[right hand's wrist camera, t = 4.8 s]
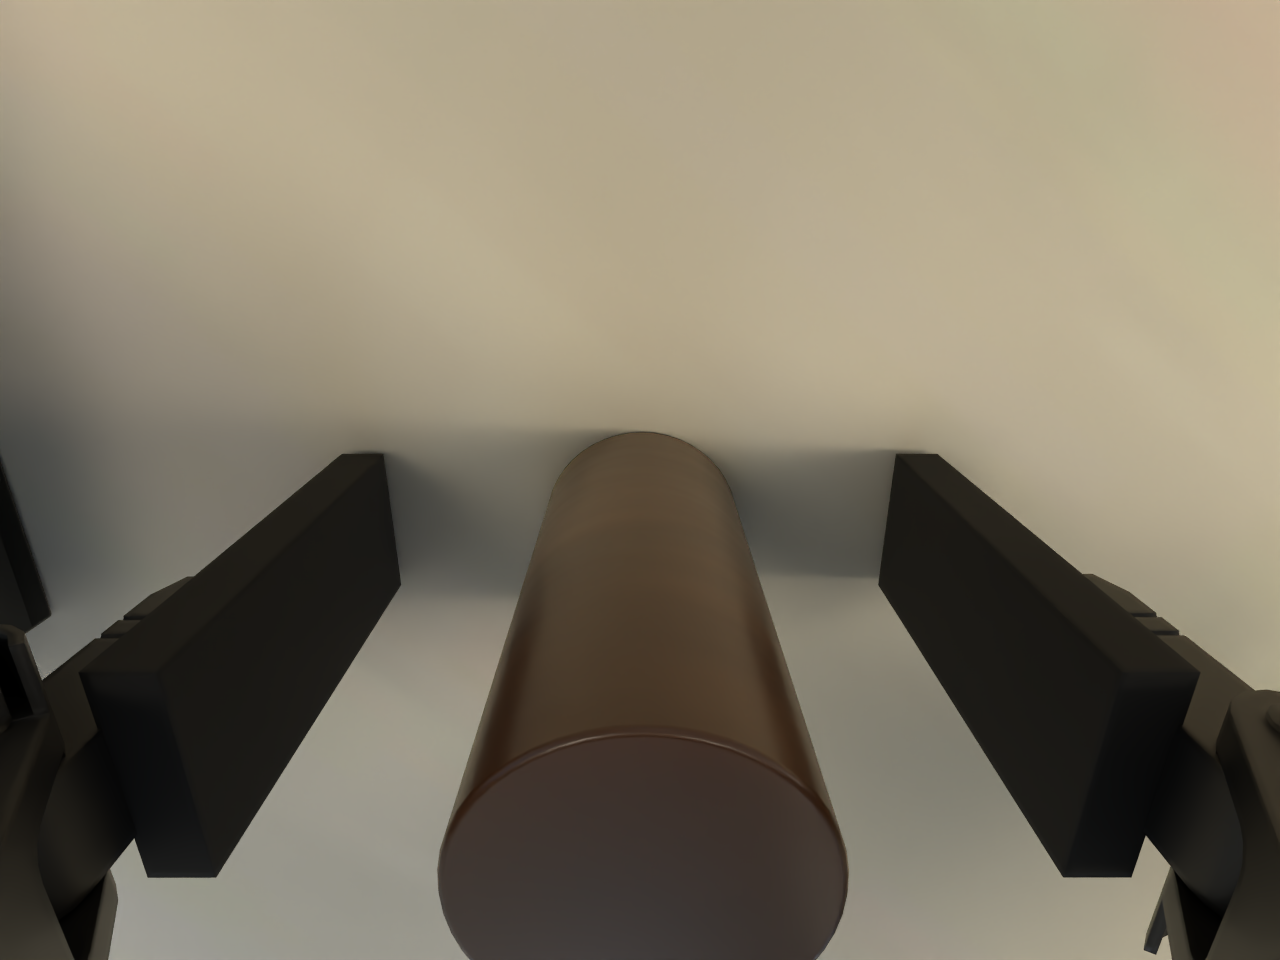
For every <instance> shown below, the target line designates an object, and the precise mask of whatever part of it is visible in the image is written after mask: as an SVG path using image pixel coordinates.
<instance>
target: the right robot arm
mask: <svg viewBox="0 0 1280 960" xmlns="http://www.w3.org/2000/svg"><path fill="white" fill-rule="evenodd" d="M878 585H879V587H880V588H881V590H882V591H883V593H884V595H885V596H886V598H887V599H888V601H889V602H890V604H891V606H892V607H893V609H894V610H895V612H896V614H897V615H898V617H899V618H900V620H901V621H902V623H903V625H904V626H905V628H906V629H907V631H908V633H909V634H910V636H911V637H912V639H913V640H914V642H915V644H916V645H917V647H918V648H919V650H920V652H921V653H922V655H923V656H924V658H925V659H926V661H927V663H928V664H929V666H930V667H931V669H932V671H933V672H934V674H935V675H936V677H937V678H938V680H939V682H940V683H941V685H942V686H943V688H944V690H945V691H946V693H947V694H948V696H949V697H950V699H951V701H952V702H953V704H954V705H955V707H956V708H957V710H958V712H959V713H960V715H961V716H962V718H963V720H964V721H965V723H966V724H967V726H968V727H969V729H970V731H971V732H972V734H973V735H974V737H975V739H976V740H977V742H978V743H979V745H980V746H981V748H982V750H983V751H984V753H985V754H986V756H987V758H988V759H989V761H990V762H991V764H992V765H993V767H994V769H995V770H996V772H997V773H998V775H999V777H1000V778H1001V780H1002V781H1003V783H1004V784H1005V786H1006V788H1007V789H1008V791H1009V792H1010V794H1011V796H1012V797H1013V799H1014V800H1015V802H1016V803H1017V805H1018V807H1019V808H1020V810H1021V811H1022V813H1023V815H1024V816H1025V818H1026V819H1027V821H1028V822H1029V824H1030V826H1031V827H1032V829H1033V830H1034V832H1035V834H1036V835H1037V837H1038V838H1039V840H1040V841H1041V843H1042V845H1043V846H1044V848H1045V849H1046V851H1047V852H1048V854H1049V856H1050V857H1051V859H1052V860H1053V862H1054V864H1055V865H1056V867H1057V868H1058V870H1059V871H1060V873H1061V875H1062V876H1063V877H1132V874H1133V871H1134V868H1135V865H1136V862H1137V859H1138V856H1139V853H1140V850H1141V848H1142V845H1143V842H1144V839H1145V836H1147V837H1148V838H1149V840H1150V841H1151V842H1152V843H1153V845H1154V846H1155V847H1156V848H1157V849H1158V851H1159V852H1160V853H1161V854H1162V856H1163V857H1164V858H1165V859H1166V861H1167V862H1168V863H1169V864H1170V866H1171V867H1170V870H1169V873H1168V875H1167V878H1166V881H1165V884H1164V886H1163V889H1162V892H1161V895H1160V897H1159V900H1158V903H1157V906H1156V909H1155V911H1154V914H1153V917H1152V920H1151V922H1150V925H1149V928H1148V931H1147V933H1146V939H1145V945H1144V950H1145V951H1148V952H1150V953H1153V954H1156V953H1157V951H1158V948H1159V945H1160V943H1161V940H1162V938H1163V937H1165V936H1167V935H1168V937H1169V943H1170V949H1171V955H1172V960H1280V692H1278V691H1271V690H1256V691H1255V690H1254V689H1252V688H1251V687H1250V686H1249V685H1247V684H1246V683H1245V682H1243V681H1242V680H1241V679H1240V678H1238V677H1237V676H1236V675H1235V674H1233V673H1232V672H1231V671H1229V670H1228V669H1227V668H1226V667H1224V666H1223V665H1222V664H1220V663H1219V662H1218V661H1217V660H1215V659H1214V658H1213V657H1212V656H1210V655H1209V654H1208V653H1206V652H1205V651H1204V650H1203V649H1201V648H1200V647H1199V646H1198V645H1196V644H1195V643H1194V642H1192V641H1191V640H1190V639H1189V638H1187V637H1186V636H1180V635H1179V631H1178V630H1177V629H1176V628H1175V627H1173V626H1172V625H1171V624H1170V623H1168V622H1167V621H1166V620H1164V619H1163V618H1162V617H1157V616H1156V612H1154V611H1153V610H1152V609H1150V608H1149V607H1148V606H1147V605H1145V604H1144V603H1143V602H1141V601H1140V600H1139V599H1138V598H1136V597H1135V596H1134V595H1133V594H1131V593H1130V592H1128V591H1126V590H1124V589H1122V588H1120V587H1118V586H1116V585H1114V584H1112V583H1110V582H1108V581H1106V580H1104V579H1102V578H1099V577H1097V576H1095V575H1093V574H1082V573H1080V572H1079V571H1078V570H1077V569H1076V568H1074V567H1073V566H1072V565H1071V564H1069V563H1068V562H1067V561H1066V560H1065V559H1063V558H1062V557H1061V556H1060V555H1059V554H1057V553H1056V552H1055V551H1054V550H1053V549H1051V548H1050V547H1049V546H1048V545H1047V544H1045V543H1044V542H1043V541H1042V540H1040V539H1039V538H1038V537H1037V536H1036V535H1034V534H1033V533H1032V532H1031V531H1030V530H1028V529H1027V528H1026V527H1025V526H1024V525H1022V524H1021V523H1020V522H1019V521H1018V520H1016V519H1015V518H1014V517H1013V516H1012V515H1010V514H1009V513H1008V512H1007V511H1005V510H1004V509H1003V508H1002V507H1001V506H999V505H998V504H997V503H996V502H995V501H993V500H992V499H991V498H990V497H989V496H987V495H986V494H985V493H984V492H983V491H981V490H980V489H979V488H978V487H976V486H975V485H974V484H973V483H972V482H970V481H969V480H968V479H967V478H966V477H964V476H963V475H962V474H961V473H960V472H958V471H957V470H956V469H955V468H954V467H952V466H951V465H950V464H949V463H947V462H946V461H945V460H944V459H943V458H941V457H940V456H939V455H938V454H896V459H895V466H894V473H893V481H892V488H891V495H890V503H889V510H888V517H887V525H886V532H885V539H884V547H883V554H882V561H881V569H880V576H879V583H878ZM400 586H401V581H400V573H399V566H398V559H397V552H396V544H395V537H394V530H393V522H392V515H391V508H390V500H389V493H388V486H387V478H386V471H385V464H384V457H383V454H341V455H340V456H339V457H338V458H337V459H335V460H334V461H333V462H332V463H331V464H329V465H328V466H327V467H326V468H325V469H323V470H322V471H321V472H320V473H319V474H317V475H316V476H315V477H314V478H312V479H311V480H310V481H309V482H308V483H306V484H305V485H304V486H303V487H302V488H300V489H299V490H298V491H297V492H296V493H294V494H293V495H292V496H291V497H290V498H288V499H287V500H286V501H285V502H283V503H282V504H281V505H280V506H279V507H277V508H276V509H275V510H274V511H273V512H271V513H270V514H269V515H268V516H267V517H265V518H264V519H263V520H262V521H261V522H259V523H258V524H257V525H256V526H254V527H253V528H252V529H251V530H250V531H248V532H247V533H246V534H245V535H244V536H242V537H241V538H240V539H239V540H238V541H236V542H235V543H234V544H233V545H232V546H230V547H229V548H228V549H227V550H225V551H224V552H223V553H222V554H221V555H219V556H218V557H217V558H216V559H215V560H213V561H212V562H211V563H210V564H209V565H207V566H206V567H205V568H204V569H203V570H201V571H200V572H199V573H198V574H196V575H195V576H194V577H186V578H184V579H182V580H180V581H178V582H176V583H173V584H171V585H169V586H167V587H165V588H163V589H161V590H159V591H157V592H155V593H153V594H151V595H150V596H148V597H147V598H146V599H144V600H143V601H142V602H141V603H139V604H138V605H137V606H136V607H134V608H133V609H132V610H131V611H129V612H128V613H127V614H125V615H124V619H123V620H118V621H117V622H115V623H114V624H113V625H112V626H110V627H109V628H108V629H107V630H105V631H104V632H103V633H101V638H95V639H94V640H93V641H91V642H90V643H89V644H88V645H86V646H85V647H84V648H83V649H81V650H80V651H79V652H77V653H76V654H75V655H74V656H72V657H71V658H70V659H69V660H67V661H66V662H65V663H64V664H62V665H61V666H60V667H58V668H57V669H56V670H55V671H53V672H52V673H51V674H50V675H48V676H47V677H46V678H45V679H43V680H41V677H40V674H39V671H38V668H37V666H36V663H35V660H34V657H33V655H32V652H31V649H30V646H29V644H28V641H27V638H26V635H25V633H24V631H22V630H20V629H18V628H16V627H15V626H13V625H5V624H0V960H108V957H109V952H110V946H111V940H112V934H113V928H114V922H115V916H116V910H117V905H118V896H117V889H116V884H115V881H114V878H113V875H112V873H111V870H110V868H111V866H112V865H113V864H114V863H115V861H116V860H117V859H118V858H119V856H120V855H121V854H122V853H123V851H124V850H125V849H126V848H127V846H128V845H129V844H130V843H131V841H132V840H133V839H134V838H135V841H136V844H137V847H138V850H139V853H140V856H141V859H142V862H143V865H144V868H145V871H146V874H147V877H148V878H216V877H217V875H218V874H219V872H220V870H221V869H222V867H223V866H224V864H225V862H226V861H227V859H228V858H229V856H230V855H231V853H232V851H233V850H234V848H235V847H236V845H237V843H238V842H239V840H240V839H241V837H242V836H243V834H244V832H245V831H246V829H247V828H248V826H249V824H250V823H251V821H252V820H253V818H254V817H255V815H256V813H257V812H258V810H259V809H260V807H261V806H262V804H263V802H264V801H265V799H266V798H267V796H268V794H269V793H270V791H271V790H272V788H273V787H274V785H275V783H276V782H277V780H278V779H279V777H280V775H281V774H282V772H283V771H284V769H285V768H286V766H287V764H288V763H289V761H290V760H291V758H292V756H293V755H294V753H295V752H296V750H297V749H298V747H299V745H300V744H301V742H302V741H303V739H304V737H305V736H306V734H307V733H308V731H309V730H310V728H311V726H312V725H313V723H314V722H315V720H316V719H317V717H318V715H319V714H320V712H321V711H322V709H323V707H324V706H325V704H326V703H327V701H328V700H329V698H330V696H331V695H332V693H333V692H334V690H335V688H336V687H337V685H338V684H339V682H340V681H341V679H342V677H343V676H344V674H345V673H346V671H347V669H348V668H349V666H350V665H351V663H352V662H353V660H354V658H355V657H356V655H357V654H358V652H359V650H360V649H361V647H362V646H363V644H364V643H365V641H366V639H367V638H368V636H369V635H370V633H371V632H372V630H373V628H374V627H375V625H376V624H377V622H378V620H379V619H380V617H381V616H382V614H383V613H384V611H385V609H386V608H387V606H388V605H389V603H390V601H391V600H392V598H393V597H394V595H395V594H396V592H397V590H398V589H399V587H400Z"/></svg>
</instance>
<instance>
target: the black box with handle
mask: <svg viewBox="0 0 1280 960" xmlns="http://www.w3.org/2000/svg"><path fill="white" fill-rule="evenodd" d="M50 616H51V611H50V608H49V605H48V602H47V599H46V596H45V593H44V590H43V587H42V584H41V581H40V578H39V575H38V572H37V569H36V566H35V563H34V560H33V557H32V554H31V551H30V548H29V545H28V543H27V540H26V537H25V534H24V531H23V528H22V525H21V522H20V519H19V516H18V513H17V510H16V507H15V504H14V501H13V498H12V495H11V492H10V489H9V486H8V483H7V480H6V477H5V474H4V471H3V468H2V465H1V462H0V624H5V625H13V626H15V627H16V628H18V629H20V630H22V631H24V633H25V634H26V633H27V632H28V631H30V630H31V629H33V628H34V627H36V626H37V625H39V624H40V623H42V622H43V621H44V620H46V619H47V618H49V617H50Z"/></svg>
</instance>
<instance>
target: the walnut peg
mask: <svg viewBox="0 0 1280 960" xmlns="http://www.w3.org/2000/svg"><path fill="white" fill-rule="evenodd" d="M437 872H438V891H439V896H440V901H441V905H442V909H443V914H444V916H445V919H446V921H447V924H448V926H449V928H450V931H451V933H452V935H453V936H454V938H455V940H456V941H457V943H458V944H459V946H460V948H461V949H462V951H463V952H464V953H465V954H466V955H467V957H468V958H469V959H470V960H816V959H817V958H818V957H819V956H820V954H821V953H822V952H823V951H824V949H825V948H826V946H827V945H828V943H829V941H830V940H831V938H832V936H833V935H834V933H835V931H836V929H837V926H838V924H839V922H840V919H841V917H842V914H843V910H844V906H845V901H846V897H847V892H848V877H849V867H848V859H847V851H846V847H845V844H844V841H843V838H842V835H841V831H840V828H839V825H838V822H837V819H836V816H835V813H834V810H833V807H832V804H831V800H830V797H829V794H828V791H827V788H826V785H825V782H824V779H823V776H822V773H821V769H820V766H819V763H818V760H817V757H816V754H815V751H814V748H813V745H812V742H811V738H810V735H809V732H808V729H807V726H806V723H805V720H804V717H803V714H802V710H801V707H800V704H799V701H798V698H797V695H796V692H795V689H794V686H793V683H792V679H791V676H790V673H789V670H788V667H787V664H786V661H785V658H784V655H783V652H782V648H781V645H780V642H779V639H778V636H777V633H776V630H775V627H774V624H773V621H772V617H771V614H770V611H769V608H768V605H767V602H766V599H765V596H764V593H763V590H762V586H761V583H760V580H759V577H758V574H757V571H756V568H755V565H754V562H753V559H752V555H751V552H750V549H749V546H748V543H747V540H746V537H745V534H744V531H743V528H742V524H741V521H740V518H739V515H738V512H737V509H736V506H735V503H734V500H733V497H732V493H731V490H730V488H729V486H728V484H727V482H726V480H725V478H724V476H723V475H722V473H721V472H720V470H719V469H718V468H717V467H716V465H715V464H714V463H713V462H712V461H711V460H710V459H709V458H708V457H707V456H705V455H704V454H703V453H702V452H701V451H699V450H698V449H696V448H695V447H693V446H691V445H690V444H688V443H685V442H683V441H681V440H679V439H676V438H673V437H670V436H667V435H661V434H656V433H643V432H640V433H627V434H622V435H617V436H613V437H610V438H607V439H604V440H602V441H600V442H598V443H596V444H594V445H592V446H590V447H589V448H587V449H586V450H584V451H582V452H581V453H580V454H579V455H578V456H577V457H575V458H574V459H573V460H572V461H571V462H570V463H569V465H568V466H567V467H566V468H565V469H564V471H563V472H562V474H561V475H560V477H559V478H558V480H557V482H556V484H555V486H554V488H553V491H552V494H551V497H550V500H549V503H548V507H547V510H546V513H545V516H544V519H543V523H542V526H541V529H540V532H539V535H538V539H537V542H536V545H535V548H534V551H533V555H532V558H531V561H530V564H529V567H528V571H527V574H526V577H525V580H524V583H523V586H522V590H521V593H520V596H519V599H518V602H517V606H516V609H515V612H514V615H513V618H512V622H511V625H510V628H509V631H508V634H507V638H506V641H505V644H504V647H503V650H502V654H501V657H500V660H499V663H498V666H497V669H496V673H495V676H494V679H493V682H492V685H491V689H490V692H489V695H488V698H487V701H486V705H485V708H484V711H483V714H482V717H481V721H480V724H479V727H478V730H477V733H476V737H475V740H474V743H473V746H472V749H471V752H470V756H469V759H468V762H467V765H466V768H465V772H464V775H463V778H462V781H461V784H460V788H459V791H458V794H457V797H456V800H455V804H454V807H453V810H452V813H451V816H450V819H449V823H448V826H447V829H446V832H445V835H444V839H443V842H442V845H441V848H440V854H439V861H438V869H437Z"/></svg>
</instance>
